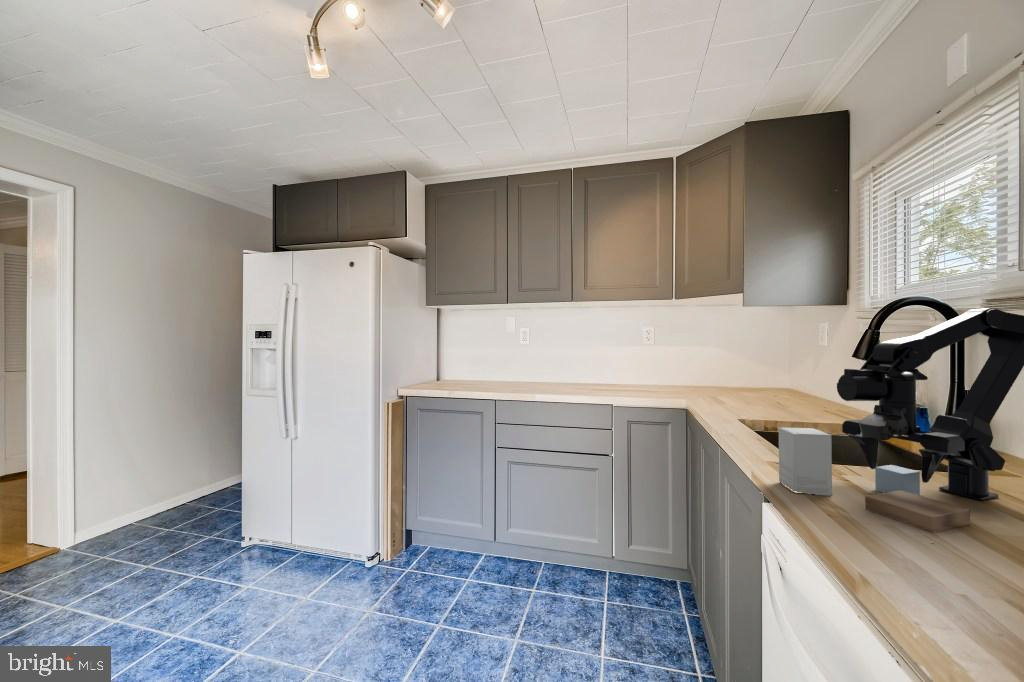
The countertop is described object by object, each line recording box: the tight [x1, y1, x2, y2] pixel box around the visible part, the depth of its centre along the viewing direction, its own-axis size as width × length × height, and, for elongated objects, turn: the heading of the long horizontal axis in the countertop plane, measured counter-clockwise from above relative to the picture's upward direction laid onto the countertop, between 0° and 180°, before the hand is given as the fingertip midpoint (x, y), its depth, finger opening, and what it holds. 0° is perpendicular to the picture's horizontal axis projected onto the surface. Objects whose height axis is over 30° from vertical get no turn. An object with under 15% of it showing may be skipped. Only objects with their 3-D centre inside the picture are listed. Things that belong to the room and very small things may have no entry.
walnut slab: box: [864, 490, 971, 533], centre depth 75 cm, size 10×10×2 cm
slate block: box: [874, 464, 921, 496], centre depth 86 cm, size 5×5×5 cm
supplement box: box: [778, 427, 833, 497], centre depth 89 cm, size 7×7×13 cm
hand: (897, 475), depth 86 cm, fingers open, 9 cm apart
